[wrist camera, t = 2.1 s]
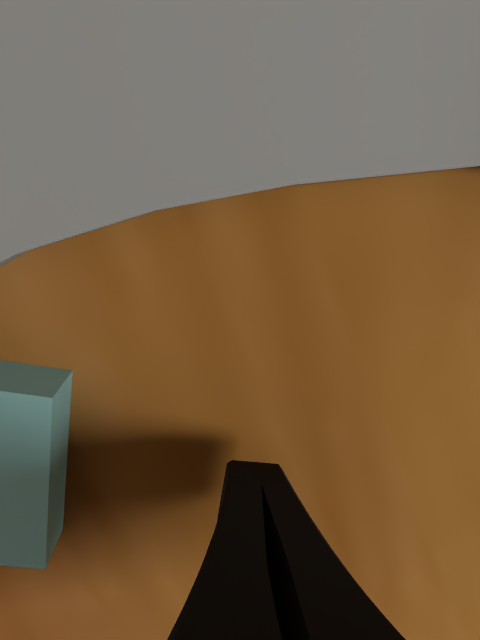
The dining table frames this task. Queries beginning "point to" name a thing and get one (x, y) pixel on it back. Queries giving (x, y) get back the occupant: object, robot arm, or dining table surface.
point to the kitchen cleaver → (221, 102)
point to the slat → (32, 461)
